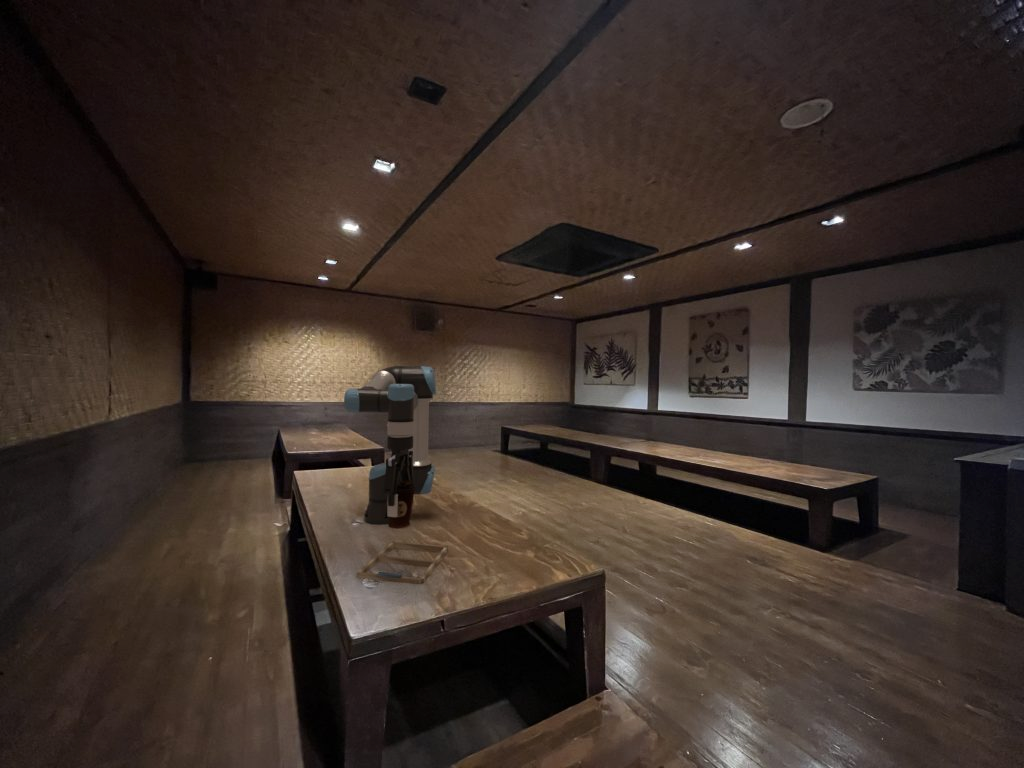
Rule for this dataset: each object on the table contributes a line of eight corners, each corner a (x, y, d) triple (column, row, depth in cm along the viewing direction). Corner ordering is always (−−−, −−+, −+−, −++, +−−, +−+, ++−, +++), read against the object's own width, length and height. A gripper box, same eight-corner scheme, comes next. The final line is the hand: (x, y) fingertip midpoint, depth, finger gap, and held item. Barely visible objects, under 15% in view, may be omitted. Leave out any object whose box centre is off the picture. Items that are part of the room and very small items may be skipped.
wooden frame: (392, 547, 136) (392, 539, 136) (447, 552, 133) (448, 544, 133) (355, 580, 113) (355, 571, 113) (421, 587, 110) (422, 578, 110)
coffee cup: (405, 532, 112) (406, 487, 112) (379, 529, 114) (380, 484, 114) (418, 522, 121) (419, 480, 121) (393, 519, 122) (395, 478, 123)
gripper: (403, 430, 128) (402, 500, 129) (371, 440, 108) (369, 522, 108) (425, 431, 127) (424, 501, 128) (396, 441, 107) (395, 525, 107)
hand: (399, 511), depth 118 cm, fingers closed on coffee cup, 8 cm apart
